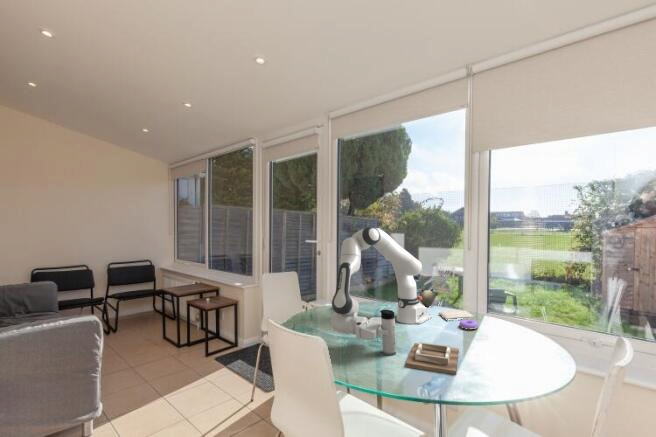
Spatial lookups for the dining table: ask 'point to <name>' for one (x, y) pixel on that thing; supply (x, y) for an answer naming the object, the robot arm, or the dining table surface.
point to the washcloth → (455, 314)
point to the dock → (433, 358)
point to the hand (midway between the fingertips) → (390, 329)
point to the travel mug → (390, 338)
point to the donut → (468, 324)
